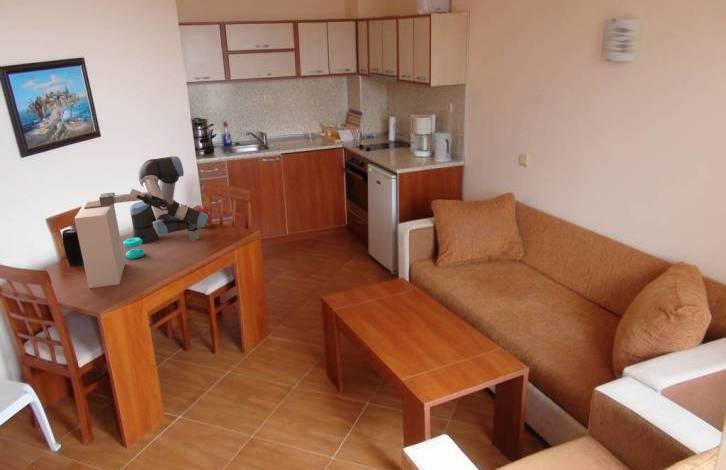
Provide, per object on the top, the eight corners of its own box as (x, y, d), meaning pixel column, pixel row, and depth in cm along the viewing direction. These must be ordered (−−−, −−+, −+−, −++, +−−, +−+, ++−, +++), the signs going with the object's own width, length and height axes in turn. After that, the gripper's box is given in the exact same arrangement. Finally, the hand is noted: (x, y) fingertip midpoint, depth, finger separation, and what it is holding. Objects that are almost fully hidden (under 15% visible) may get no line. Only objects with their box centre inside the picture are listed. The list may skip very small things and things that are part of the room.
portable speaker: (88, 261, 314) (82, 227, 307) (79, 267, 305) (72, 233, 299) (74, 261, 314) (67, 227, 308) (64, 267, 305) (57, 233, 299)
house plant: (213, 237, 345) (210, 212, 340) (196, 244, 334) (192, 218, 329) (197, 234, 352) (193, 209, 347) (179, 240, 341) (176, 215, 336)
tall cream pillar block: (125, 263, 307) (112, 198, 296) (119, 284, 280) (105, 213, 268) (97, 267, 304) (84, 201, 292) (88, 288, 276) (73, 216, 265)
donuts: (129, 236, 320) (145, 237, 318) (132, 253, 324) (148, 253, 322) (119, 242, 311) (135, 243, 309) (122, 259, 314) (138, 259, 312)
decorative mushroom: (215, 228, 363) (212, 205, 359) (194, 232, 357) (191, 209, 352) (210, 223, 374) (207, 201, 370) (189, 226, 368) (186, 204, 364)
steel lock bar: (152, 196, 284) (150, 188, 282) (151, 200, 276) (149, 192, 275) (102, 201, 277) (101, 193, 276) (100, 205, 270) (99, 197, 269)
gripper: (180, 199, 292) (134, 181, 283) (179, 207, 277) (132, 189, 268) (174, 212, 294) (129, 195, 284) (173, 221, 278) (126, 203, 269)
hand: (130, 192), depth 276 cm, fingers closed on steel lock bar, 4 cm apart
